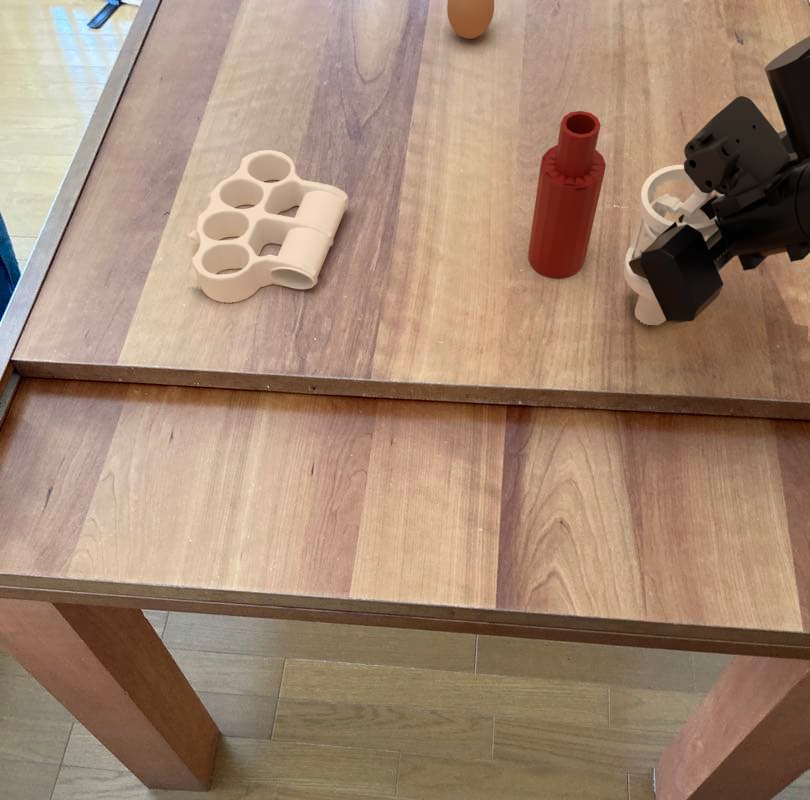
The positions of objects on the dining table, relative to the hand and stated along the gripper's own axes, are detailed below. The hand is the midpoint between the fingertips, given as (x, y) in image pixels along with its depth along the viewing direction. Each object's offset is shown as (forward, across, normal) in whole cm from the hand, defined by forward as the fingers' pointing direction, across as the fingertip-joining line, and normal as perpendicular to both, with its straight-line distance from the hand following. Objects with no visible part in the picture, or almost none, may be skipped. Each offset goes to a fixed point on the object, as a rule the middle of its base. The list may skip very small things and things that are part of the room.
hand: (656, 244), depth 71 cm
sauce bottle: (+13, 0, -1) cm, 13 cm away
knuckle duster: (+29, +18, -18) cm, 39 cm away
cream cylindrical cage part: (+4, 0, +7) cm, 8 cm away
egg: (+34, -20, -23) cm, 45 cm away
